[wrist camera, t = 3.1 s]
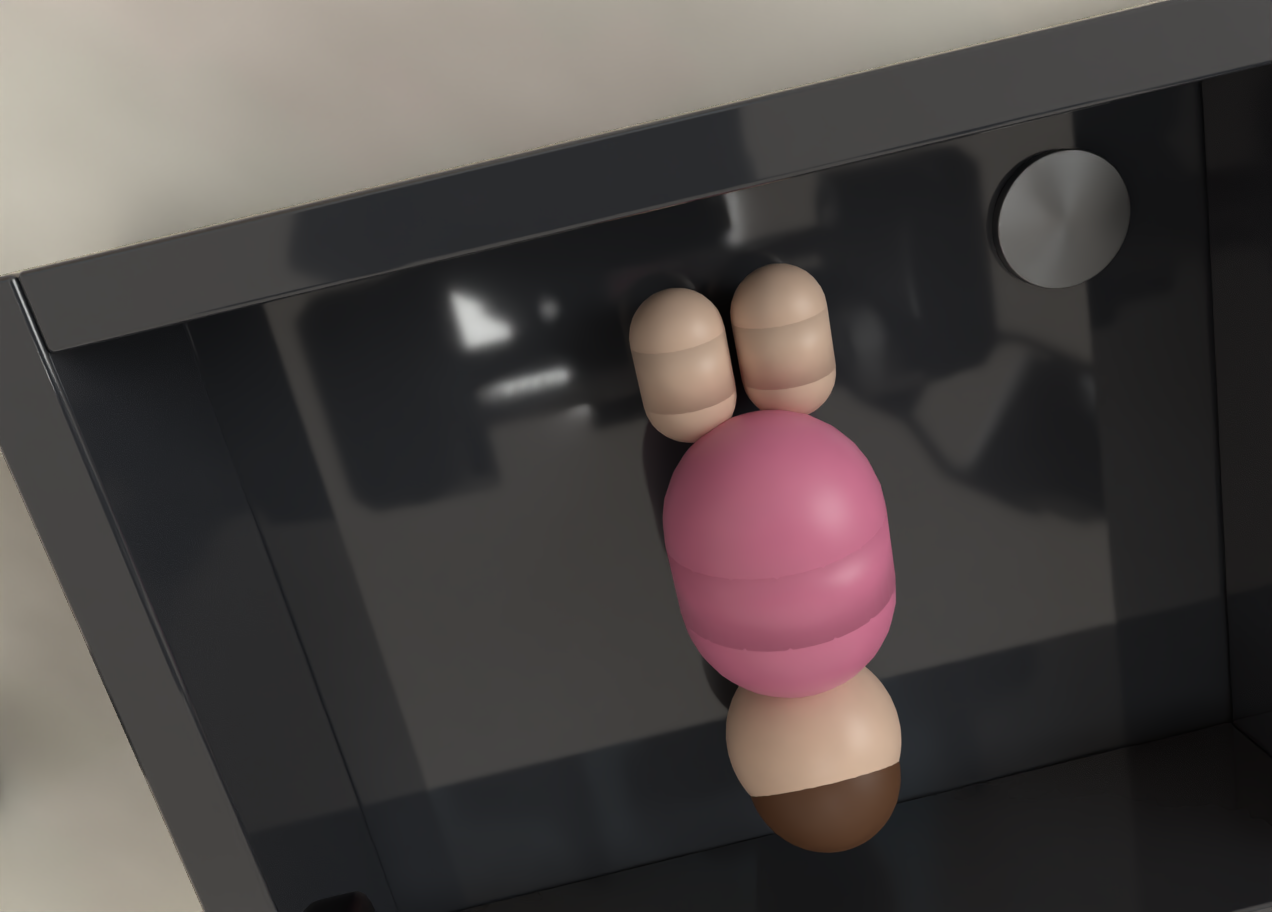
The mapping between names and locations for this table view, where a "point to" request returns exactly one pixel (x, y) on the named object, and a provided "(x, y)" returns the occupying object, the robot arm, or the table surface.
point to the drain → (1061, 218)
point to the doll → (778, 552)
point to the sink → (638, 481)
